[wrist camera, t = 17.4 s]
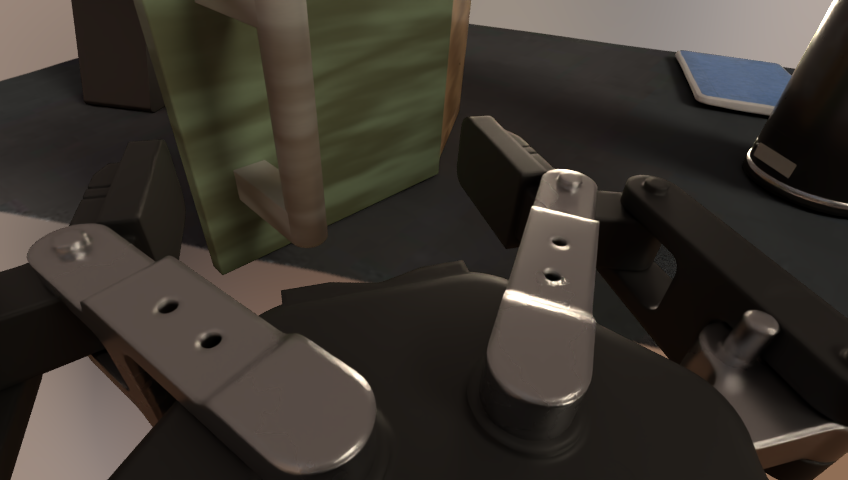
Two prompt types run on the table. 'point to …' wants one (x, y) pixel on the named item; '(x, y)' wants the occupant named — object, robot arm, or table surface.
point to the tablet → (734, 81)
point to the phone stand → (114, 56)
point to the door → (297, 110)
